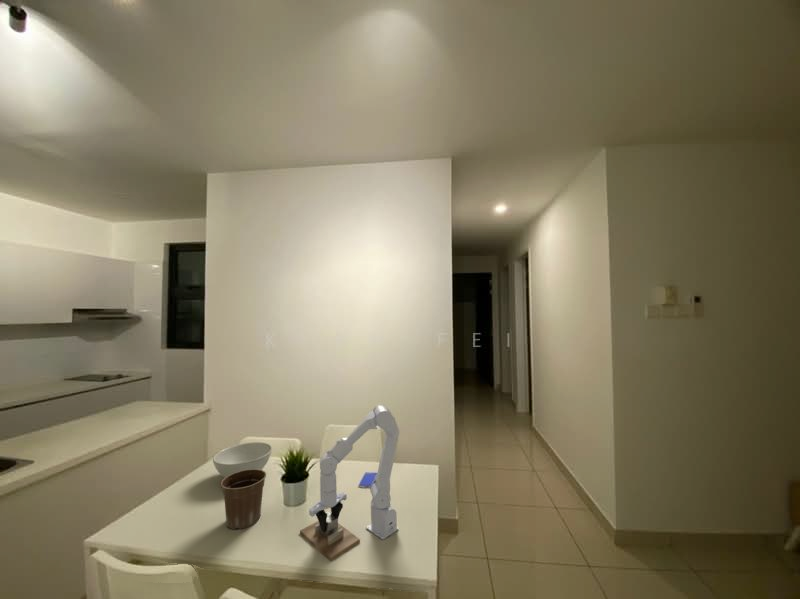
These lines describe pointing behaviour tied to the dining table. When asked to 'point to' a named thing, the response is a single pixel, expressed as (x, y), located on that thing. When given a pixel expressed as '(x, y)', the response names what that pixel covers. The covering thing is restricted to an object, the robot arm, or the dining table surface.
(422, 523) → the dining table surface
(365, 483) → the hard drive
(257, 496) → the plant pot
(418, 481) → the dining table surface
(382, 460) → the robot arm
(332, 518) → the block
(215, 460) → the decorative bowl
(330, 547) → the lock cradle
